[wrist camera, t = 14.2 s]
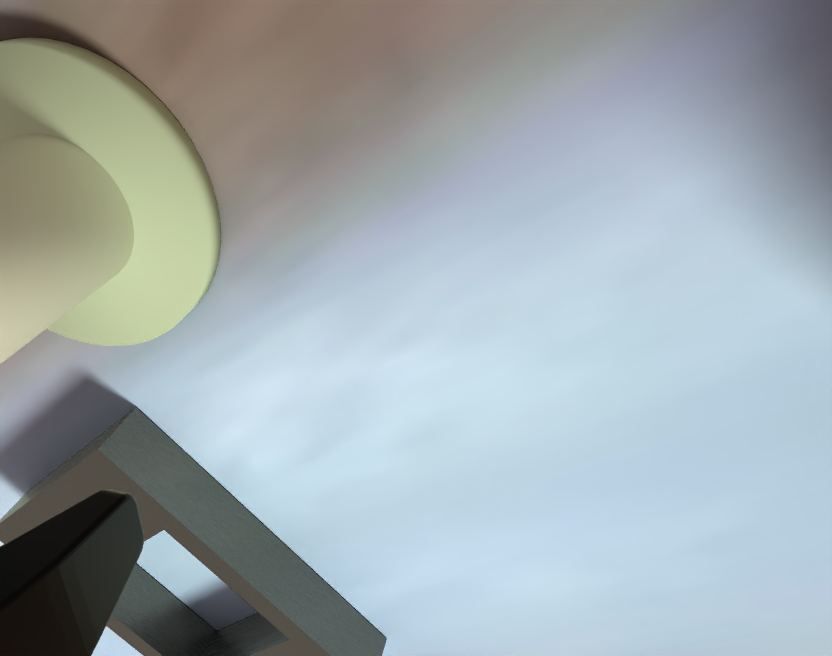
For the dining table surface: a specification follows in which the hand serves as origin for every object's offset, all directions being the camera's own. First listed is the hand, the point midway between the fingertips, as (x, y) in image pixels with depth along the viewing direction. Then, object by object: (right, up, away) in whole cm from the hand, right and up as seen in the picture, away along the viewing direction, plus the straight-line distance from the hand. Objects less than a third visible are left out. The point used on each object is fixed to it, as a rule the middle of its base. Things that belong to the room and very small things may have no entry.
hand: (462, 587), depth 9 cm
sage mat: (-12, +7, +14) cm, 20 cm away
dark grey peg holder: (-10, -7, +23) cm, 26 cm away
